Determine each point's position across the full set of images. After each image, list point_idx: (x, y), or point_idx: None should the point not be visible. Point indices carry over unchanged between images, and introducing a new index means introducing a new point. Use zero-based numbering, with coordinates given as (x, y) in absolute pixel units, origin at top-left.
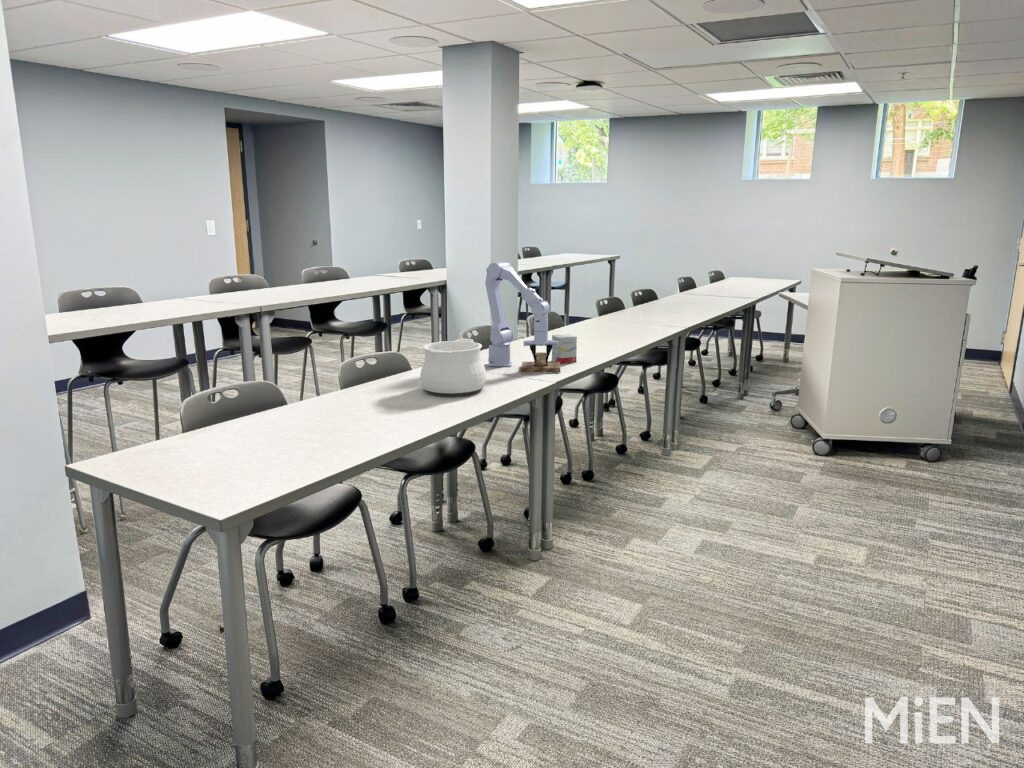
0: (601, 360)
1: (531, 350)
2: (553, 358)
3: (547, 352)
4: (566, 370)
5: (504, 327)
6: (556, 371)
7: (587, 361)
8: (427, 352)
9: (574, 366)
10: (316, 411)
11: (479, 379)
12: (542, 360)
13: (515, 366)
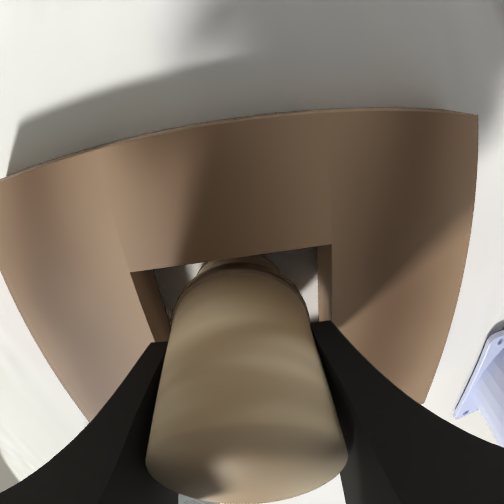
0: (19, 471)
1: (487, 445)
2: (204, 501)
3: (90, 467)
4: (4, 294)
5: None
6: (25, 169)
7: None
8: None
9: (32, 406)
10: None
11: None
12: (202, 329)
13: (455, 357)
